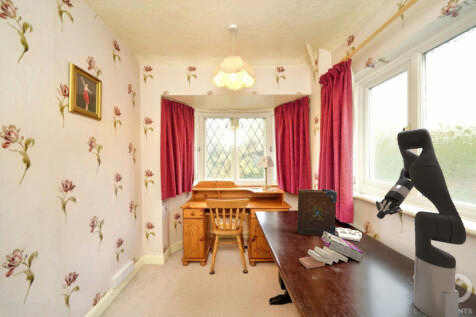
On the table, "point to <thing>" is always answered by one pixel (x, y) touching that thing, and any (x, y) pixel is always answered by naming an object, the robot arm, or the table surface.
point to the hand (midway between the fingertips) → (379, 217)
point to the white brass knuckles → (348, 234)
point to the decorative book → (316, 211)
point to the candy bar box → (342, 246)
